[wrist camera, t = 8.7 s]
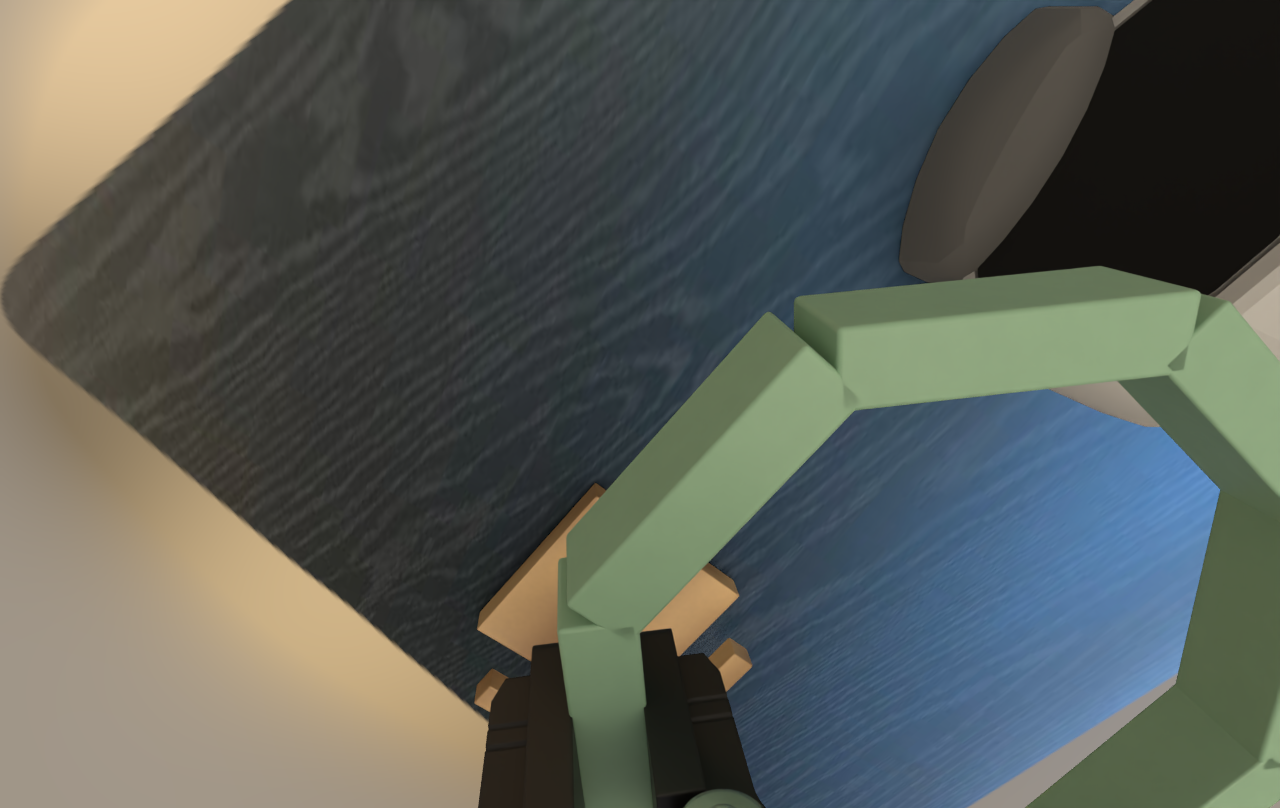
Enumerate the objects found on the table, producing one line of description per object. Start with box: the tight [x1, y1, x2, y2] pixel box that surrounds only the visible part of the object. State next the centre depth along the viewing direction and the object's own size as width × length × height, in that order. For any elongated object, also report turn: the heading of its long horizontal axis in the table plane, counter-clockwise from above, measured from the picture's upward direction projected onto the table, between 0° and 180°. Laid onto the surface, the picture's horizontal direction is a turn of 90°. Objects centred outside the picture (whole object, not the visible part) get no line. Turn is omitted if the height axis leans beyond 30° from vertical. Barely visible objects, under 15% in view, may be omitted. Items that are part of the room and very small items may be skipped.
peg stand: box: [475, 483, 752, 712], centre depth 34 cm, size 14×14×13 cm
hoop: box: [557, 266, 1280, 808], centre depth 13 cm, size 13×13×2 cm
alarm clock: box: [899, 0, 1280, 427], centre depth 26 cm, size 16×10×18 cm, turn 156°
